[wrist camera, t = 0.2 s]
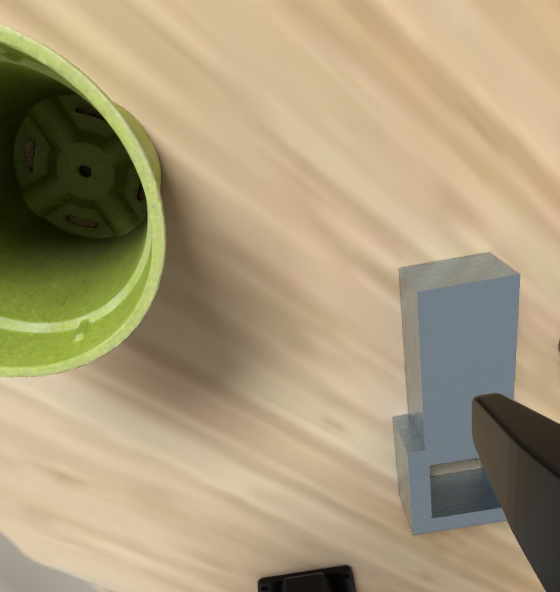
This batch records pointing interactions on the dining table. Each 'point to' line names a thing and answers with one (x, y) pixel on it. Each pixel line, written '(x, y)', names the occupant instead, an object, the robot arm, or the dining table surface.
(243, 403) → the dining table surface
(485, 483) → the link
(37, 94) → the plant pot
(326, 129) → the dining table surface
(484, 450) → the robot arm
